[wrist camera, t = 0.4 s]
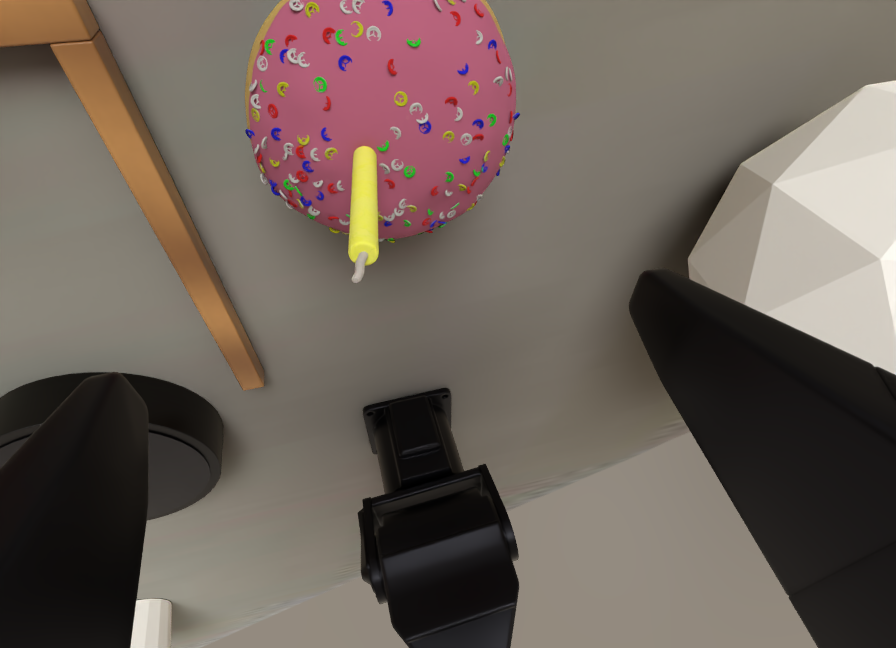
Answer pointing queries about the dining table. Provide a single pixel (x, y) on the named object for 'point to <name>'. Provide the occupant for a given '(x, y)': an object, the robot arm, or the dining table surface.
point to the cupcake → (380, 113)
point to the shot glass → (152, 624)
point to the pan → (169, 426)
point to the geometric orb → (816, 229)
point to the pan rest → (133, 158)
